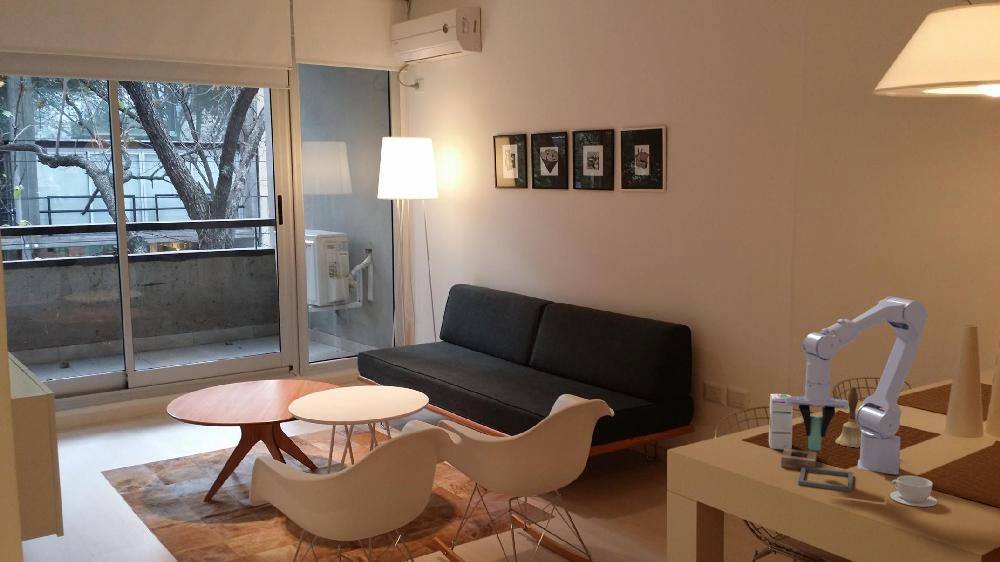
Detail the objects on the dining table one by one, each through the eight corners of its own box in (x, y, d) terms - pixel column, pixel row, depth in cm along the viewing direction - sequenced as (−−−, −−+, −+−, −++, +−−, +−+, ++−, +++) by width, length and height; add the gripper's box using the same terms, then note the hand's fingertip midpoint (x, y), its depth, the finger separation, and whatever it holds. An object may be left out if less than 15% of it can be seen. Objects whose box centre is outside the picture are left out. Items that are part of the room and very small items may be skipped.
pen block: (816, 463, 230) (816, 452, 230) (814, 472, 223) (814, 461, 222) (783, 459, 233) (784, 448, 233) (781, 468, 226) (781, 457, 225)
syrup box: (792, 451, 240) (794, 399, 238) (769, 450, 241) (771, 398, 239) (789, 445, 245) (792, 394, 243) (767, 444, 246) (769, 392, 245)
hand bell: (829, 443, 247) (832, 387, 246) (844, 437, 253) (847, 382, 251) (858, 450, 241) (861, 392, 239) (872, 444, 247) (875, 388, 245)
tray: (852, 477, 219) (853, 472, 219) (851, 493, 208) (852, 488, 208) (801, 471, 224) (801, 465, 224) (798, 486, 213) (798, 481, 213)
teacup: (943, 500, 205) (944, 480, 205) (929, 512, 198) (930, 492, 197) (898, 489, 212) (899, 470, 211) (883, 500, 204) (884, 481, 204)
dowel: (819, 447, 222) (821, 416, 221) (821, 450, 219) (823, 419, 218) (807, 446, 222) (808, 415, 221) (808, 450, 219) (810, 418, 218)
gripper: (846, 379, 221) (843, 432, 222) (785, 376, 224) (783, 428, 226) (851, 386, 214) (848, 441, 215) (788, 382, 217) (785, 436, 219)
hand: (815, 435), depth 220 cm, fingers closed on dowel, 3 cm apart
